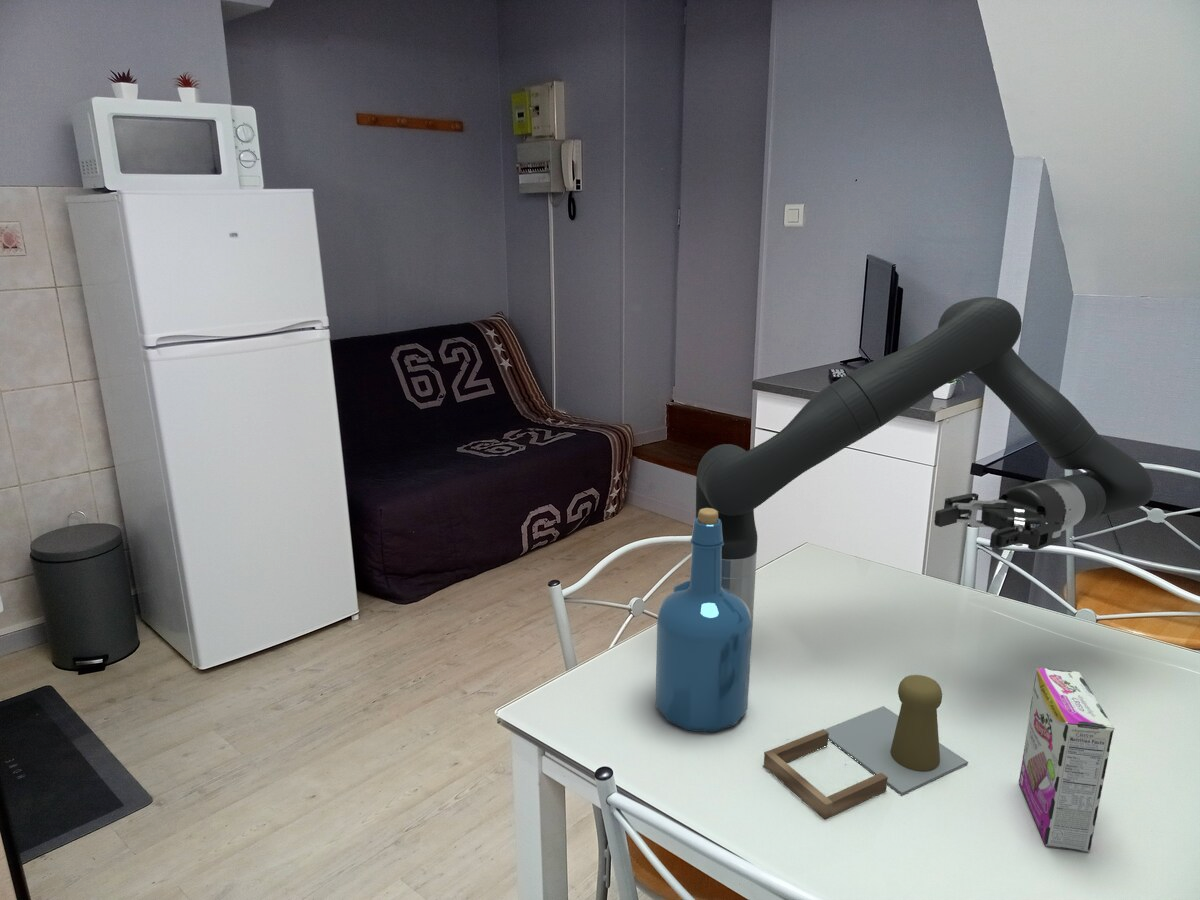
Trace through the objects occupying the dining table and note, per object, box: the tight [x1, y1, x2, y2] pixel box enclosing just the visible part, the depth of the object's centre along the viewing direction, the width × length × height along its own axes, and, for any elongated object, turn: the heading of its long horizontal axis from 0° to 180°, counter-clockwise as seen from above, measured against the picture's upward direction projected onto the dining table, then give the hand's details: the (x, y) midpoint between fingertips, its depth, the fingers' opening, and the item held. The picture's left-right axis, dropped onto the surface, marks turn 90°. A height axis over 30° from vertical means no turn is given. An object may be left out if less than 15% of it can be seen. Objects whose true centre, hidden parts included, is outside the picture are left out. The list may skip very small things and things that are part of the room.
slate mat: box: [823, 705, 969, 796], centre depth 109 cm, size 14×12×1 cm
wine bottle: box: [655, 508, 753, 733], centre depth 113 cm, size 14×13×30 cm
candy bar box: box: [1018, 667, 1115, 853], centre depth 94 cm, size 11×5×16 cm, turn 168°
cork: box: [890, 674, 943, 771], centre depth 105 cm, size 6×6×11 cm
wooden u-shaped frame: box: [763, 728, 888, 820], centre depth 103 cm, size 11×10×2 cm
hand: (964, 529), depth 108 cm, fingers open, 8 cm apart
